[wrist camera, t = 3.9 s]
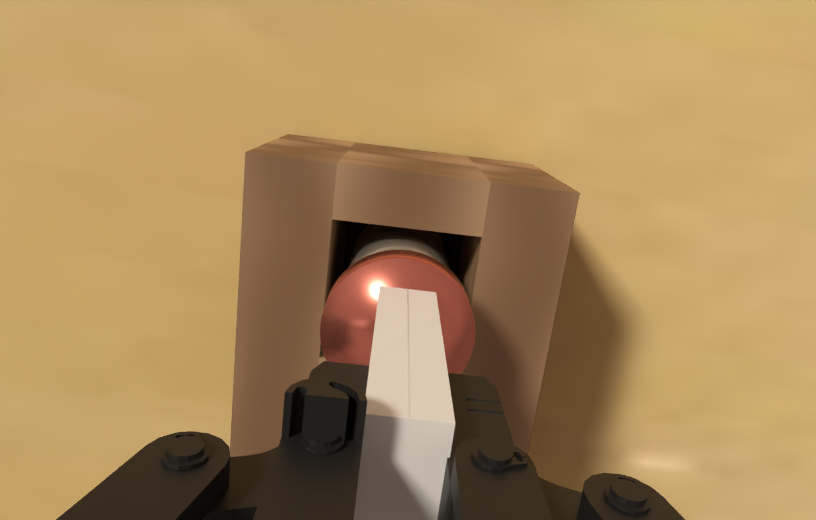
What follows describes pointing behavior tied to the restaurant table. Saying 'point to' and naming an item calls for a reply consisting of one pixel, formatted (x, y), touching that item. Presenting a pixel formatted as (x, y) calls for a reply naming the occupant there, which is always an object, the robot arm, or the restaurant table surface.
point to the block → (399, 207)
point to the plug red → (401, 268)
